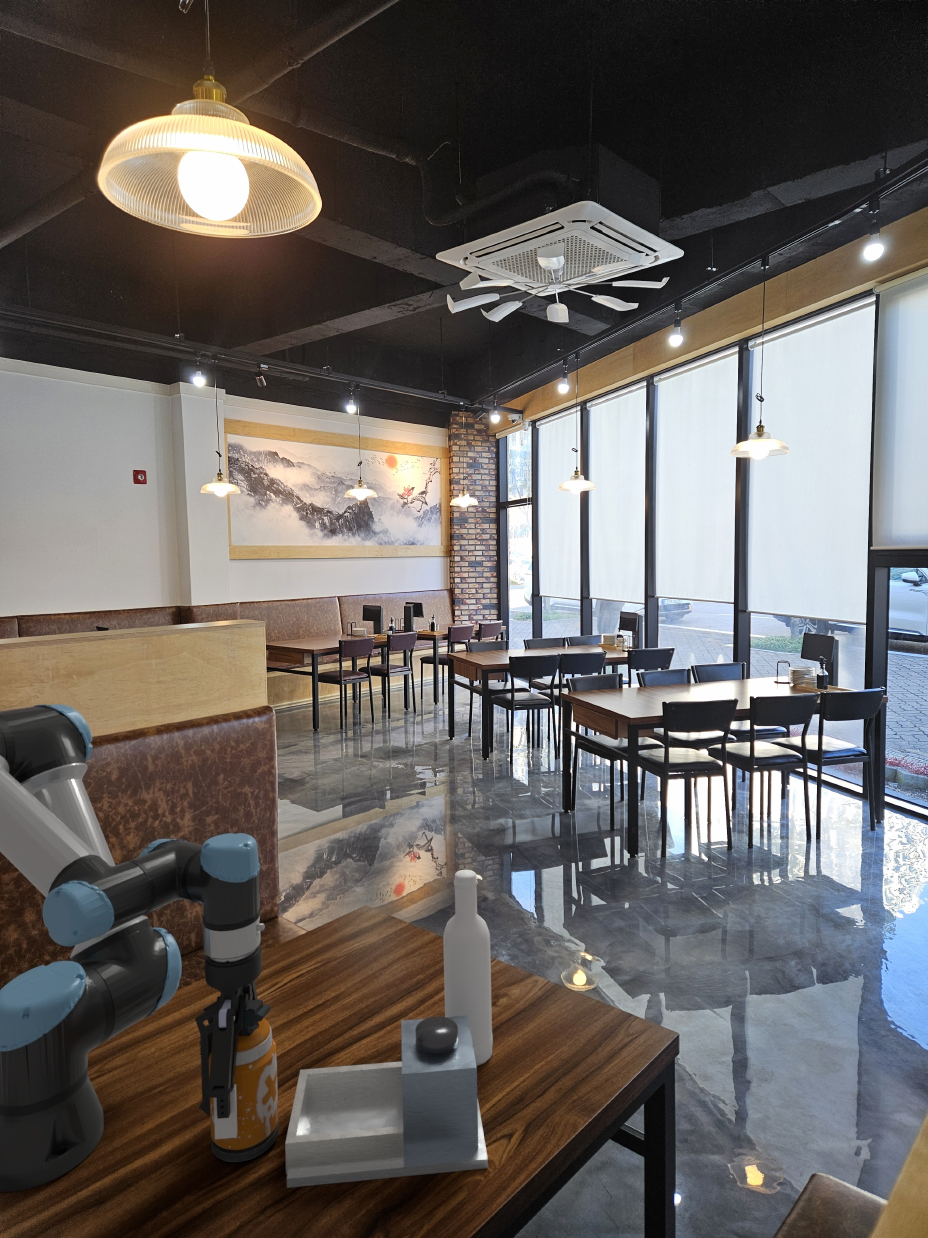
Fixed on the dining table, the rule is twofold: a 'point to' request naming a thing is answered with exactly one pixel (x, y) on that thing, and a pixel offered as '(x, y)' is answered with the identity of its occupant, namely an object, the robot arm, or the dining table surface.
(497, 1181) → the dining table surface
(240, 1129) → the canister
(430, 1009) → the dining table surface
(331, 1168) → the grey holder tray
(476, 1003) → the bottle
